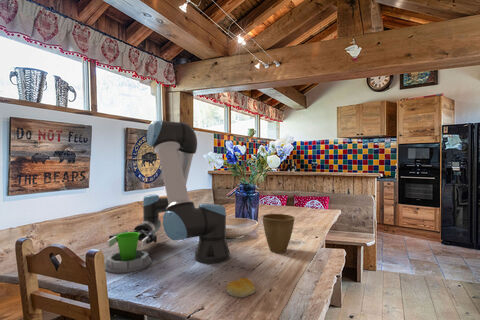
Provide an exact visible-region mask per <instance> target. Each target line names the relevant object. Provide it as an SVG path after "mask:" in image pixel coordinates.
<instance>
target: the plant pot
mask: <svg viewBox="0 0 480 320" xmlns="http://www.w3.org/2000/svg"><path fill="white" fill-rule="evenodd" d="M295 220H296V219H295V216H293V215H290V214H284V213H283V214H282V213H269V214H264V215H262V224H263V229H264V233H265V234H264V235H265V239H266V244H267V245H268V248H269V251H270V252H272V253H275V254H284V253H286V251H287V249H288V246H289V243H290V241H291V237H292V233H293V230H294V225H295V224H294V223H295Z"/></svg>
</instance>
